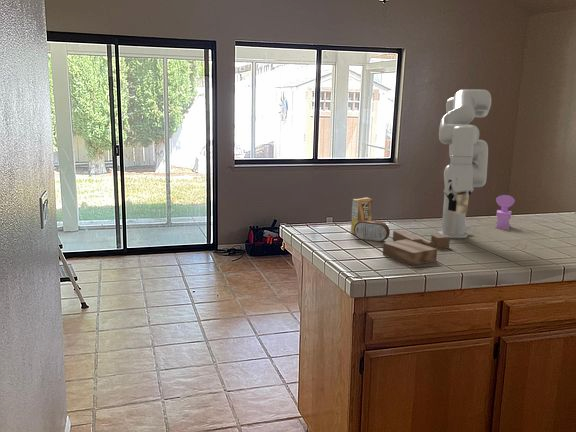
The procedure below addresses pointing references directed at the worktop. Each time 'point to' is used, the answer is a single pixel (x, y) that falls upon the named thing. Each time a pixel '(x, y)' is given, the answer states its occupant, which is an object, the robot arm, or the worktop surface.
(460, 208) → the maple block
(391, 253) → the walnut block
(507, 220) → the toy chair
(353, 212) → the candy box
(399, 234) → the wooden block set
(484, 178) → the robot arm
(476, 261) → the worktop surface
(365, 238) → the tin
